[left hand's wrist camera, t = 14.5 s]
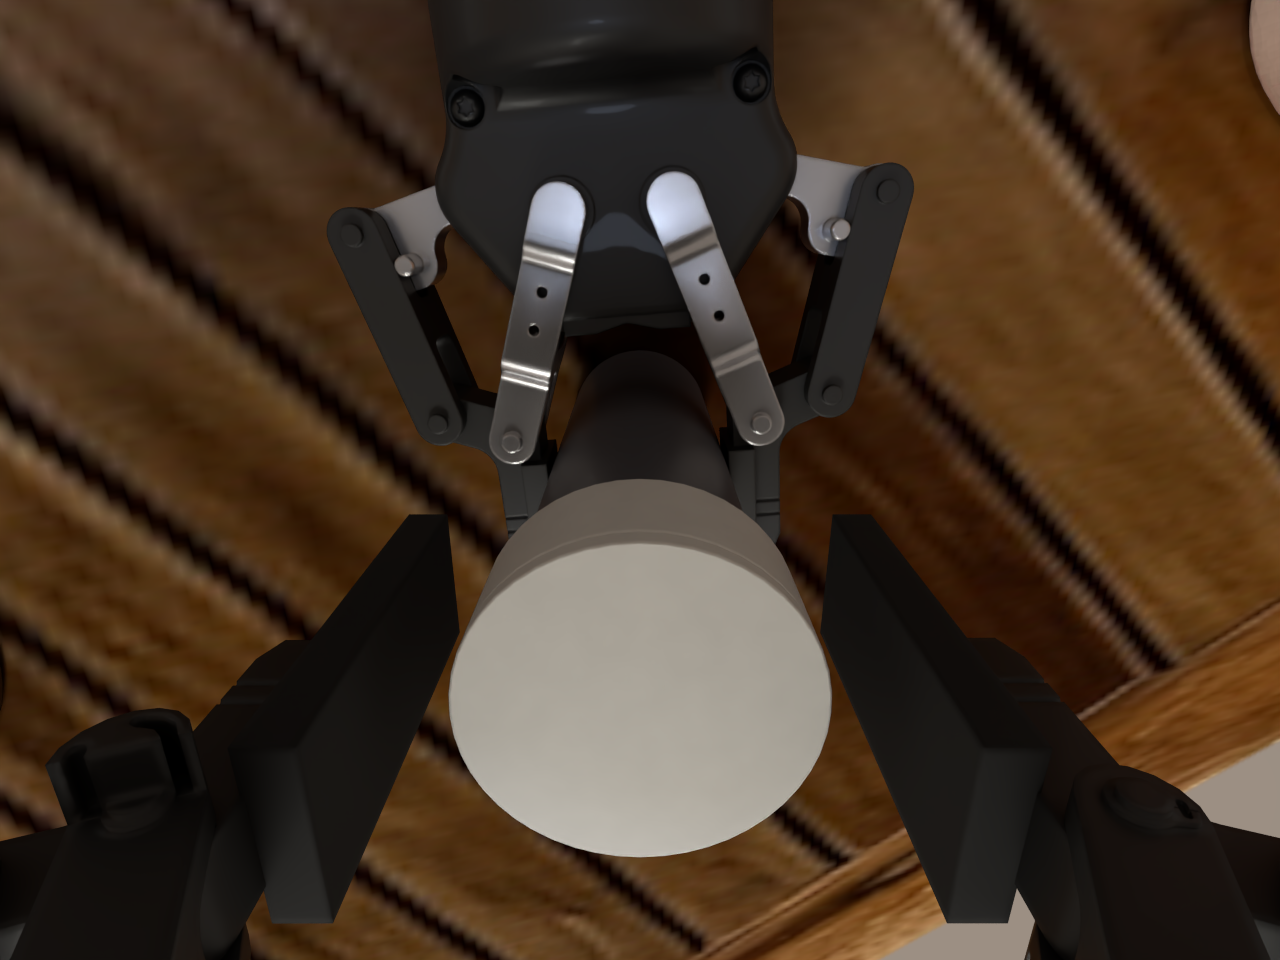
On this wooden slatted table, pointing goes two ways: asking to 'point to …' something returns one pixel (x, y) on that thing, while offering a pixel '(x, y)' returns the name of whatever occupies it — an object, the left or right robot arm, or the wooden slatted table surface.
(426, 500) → the wooden slatted table surface
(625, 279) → the right robot arm
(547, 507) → the lid
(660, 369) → the gray bottle
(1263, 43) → the anatomical model
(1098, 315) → the wooden slatted table surface
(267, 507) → the wooden slatted table surface
